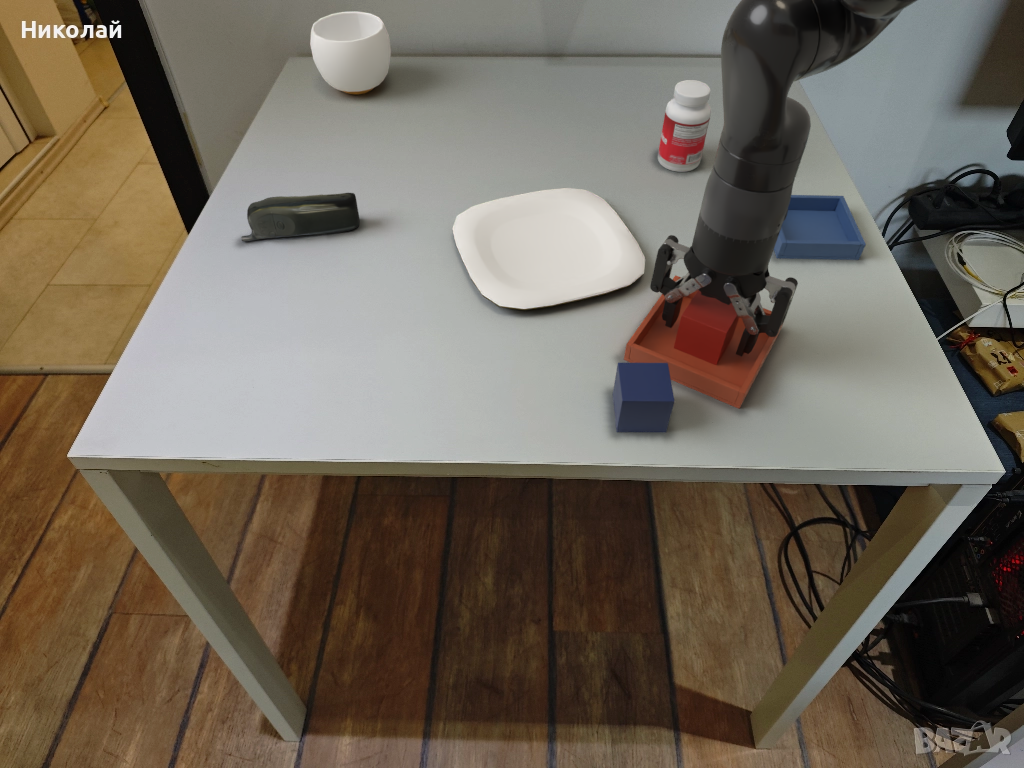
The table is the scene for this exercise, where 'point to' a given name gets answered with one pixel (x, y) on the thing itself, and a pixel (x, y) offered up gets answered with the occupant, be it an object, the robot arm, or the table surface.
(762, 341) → the terracotta tray
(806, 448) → the table surface
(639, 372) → the navy block
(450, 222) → the table surface
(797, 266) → the table surface
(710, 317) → the red block
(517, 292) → the plate
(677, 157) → the pill bottle
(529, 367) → the table surface
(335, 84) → the cup
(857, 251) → the blue tray
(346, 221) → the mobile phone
